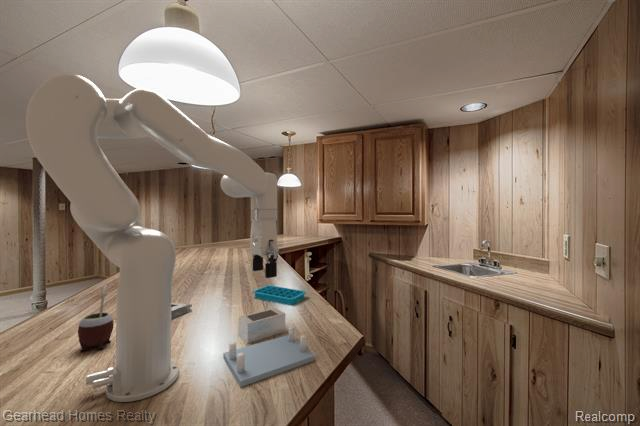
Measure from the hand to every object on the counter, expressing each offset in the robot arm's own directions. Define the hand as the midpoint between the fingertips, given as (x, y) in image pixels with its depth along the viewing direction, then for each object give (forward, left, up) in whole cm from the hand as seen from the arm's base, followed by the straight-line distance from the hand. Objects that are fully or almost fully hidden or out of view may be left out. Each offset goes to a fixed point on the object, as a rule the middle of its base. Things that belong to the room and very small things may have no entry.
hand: (264, 273), depth 79 cm
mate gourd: (-39, +16, -18) cm, 46 cm away
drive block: (0, 0, -18) cm, 18 cm away
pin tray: (-4, -14, -17) cm, 23 cm away
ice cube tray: (+18, +26, -18) cm, 37 cm away
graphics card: (-25, +37, -18) cm, 48 cm away
